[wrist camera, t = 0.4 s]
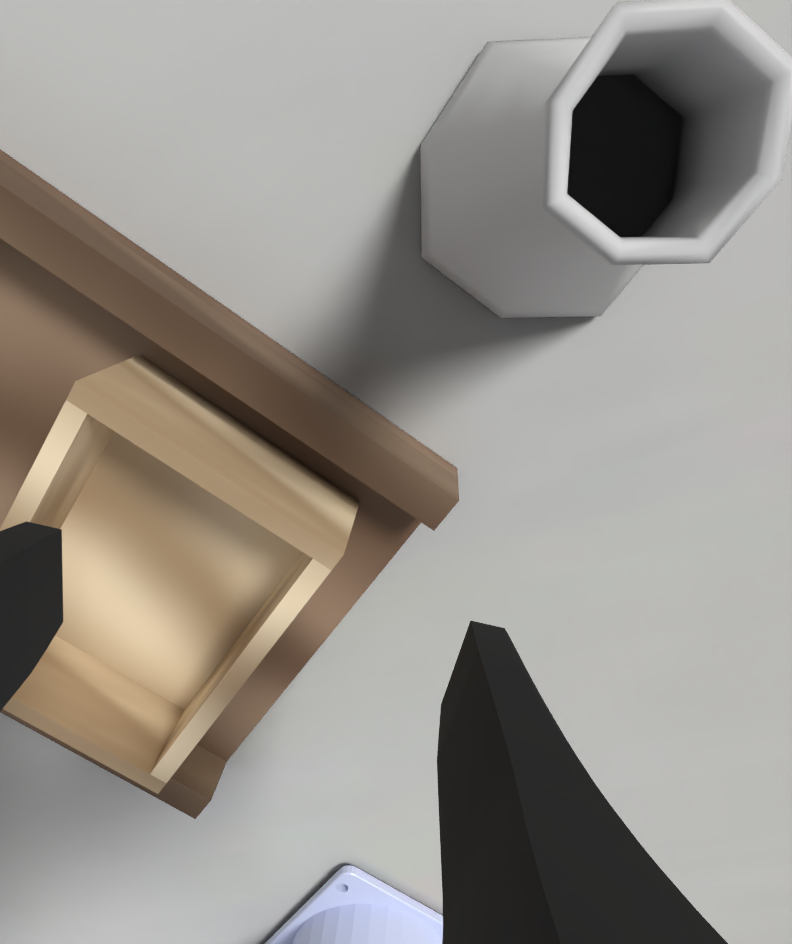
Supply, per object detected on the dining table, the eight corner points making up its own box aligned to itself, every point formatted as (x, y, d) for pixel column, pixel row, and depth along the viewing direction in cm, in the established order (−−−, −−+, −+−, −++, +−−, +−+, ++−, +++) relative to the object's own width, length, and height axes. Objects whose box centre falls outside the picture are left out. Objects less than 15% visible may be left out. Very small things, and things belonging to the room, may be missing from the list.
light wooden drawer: (197, 716, 24) (157, 794, 20) (3, 604, 23) (-72, 668, 19) (359, 502, 20) (343, 554, 17) (139, 354, 19) (75, 381, 16)
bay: (218, 763, 26) (182, 848, 22) (-234, 507, 23) (-358, 557, 19) (457, 468, 20) (459, 518, 17) (-92, 85, 18) (-227, 48, 14)
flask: (731, 85, 16) (1122, -110, 7) (614, 353, 19) (783, 473, 10) (464, -8, 16) (497, -344, 7) (383, 278, 19) (323, 327, 9)
